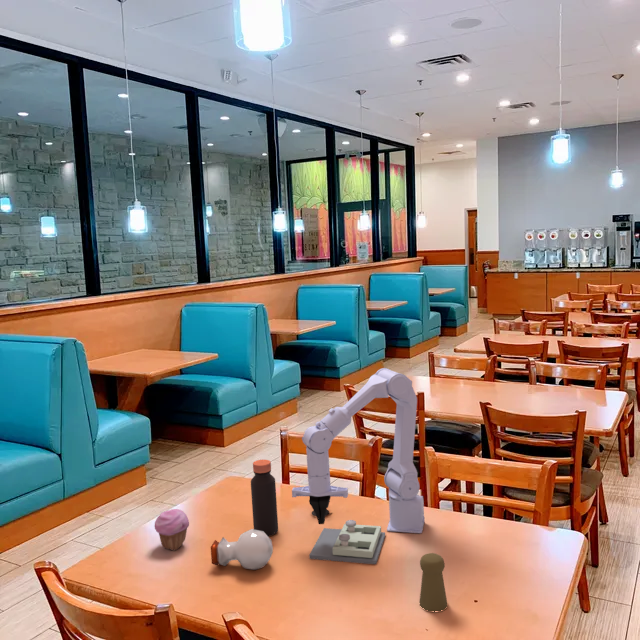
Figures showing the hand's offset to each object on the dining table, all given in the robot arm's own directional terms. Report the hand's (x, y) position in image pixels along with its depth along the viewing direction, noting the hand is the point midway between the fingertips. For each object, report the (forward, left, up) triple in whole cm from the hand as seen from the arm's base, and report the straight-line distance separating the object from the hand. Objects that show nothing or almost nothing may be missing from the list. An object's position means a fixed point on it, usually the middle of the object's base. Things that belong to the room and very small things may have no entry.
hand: (321, 522), depth 162 cm
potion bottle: (+17, +14, -6) cm, 23 cm away
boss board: (-7, 0, -6) cm, 9 cm away
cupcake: (+40, +7, -6) cm, 41 cm away
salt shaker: (+6, -19, -6) cm, 21 cm away
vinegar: (+18, -5, -6) cm, 19 cm away
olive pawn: (-30, +22, -6) cm, 38 cm away
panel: (-9, 0, -5) cm, 11 cm away
